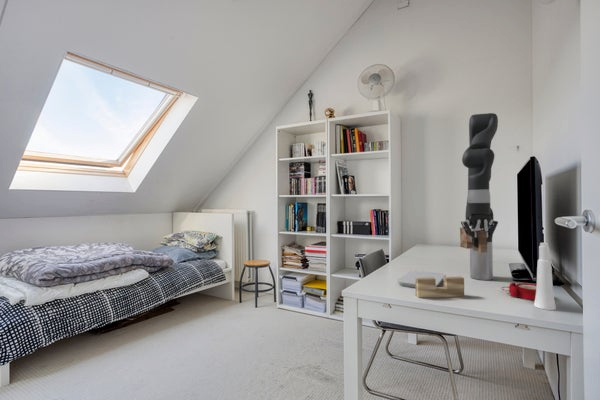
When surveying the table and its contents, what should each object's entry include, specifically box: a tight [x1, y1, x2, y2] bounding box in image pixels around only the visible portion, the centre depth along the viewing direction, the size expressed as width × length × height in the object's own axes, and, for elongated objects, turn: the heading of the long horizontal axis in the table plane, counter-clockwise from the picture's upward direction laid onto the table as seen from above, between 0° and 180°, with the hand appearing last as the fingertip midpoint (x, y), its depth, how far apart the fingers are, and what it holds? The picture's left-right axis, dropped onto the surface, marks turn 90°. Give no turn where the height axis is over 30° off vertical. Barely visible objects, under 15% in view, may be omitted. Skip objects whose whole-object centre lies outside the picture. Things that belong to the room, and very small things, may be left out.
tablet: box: [397, 269, 447, 289], centre depth 146 cm, size 16×26×2 cm, turn 146°
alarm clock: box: [501, 282, 537, 301], centre depth 123 cm, size 10×6×15 cm
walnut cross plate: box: [459, 227, 487, 253], centre depth 127 cm, size 14×2×8 cm, turn 2°
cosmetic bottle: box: [533, 242, 557, 311], centre depth 110 cm, size 6×6×22 cm
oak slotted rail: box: [415, 275, 465, 299], centre depth 125 cm, size 2×18×7 cm, turn 92°
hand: (479, 247), depth 122 cm, fingers closed on walnut cross plate, 2 cm apart
